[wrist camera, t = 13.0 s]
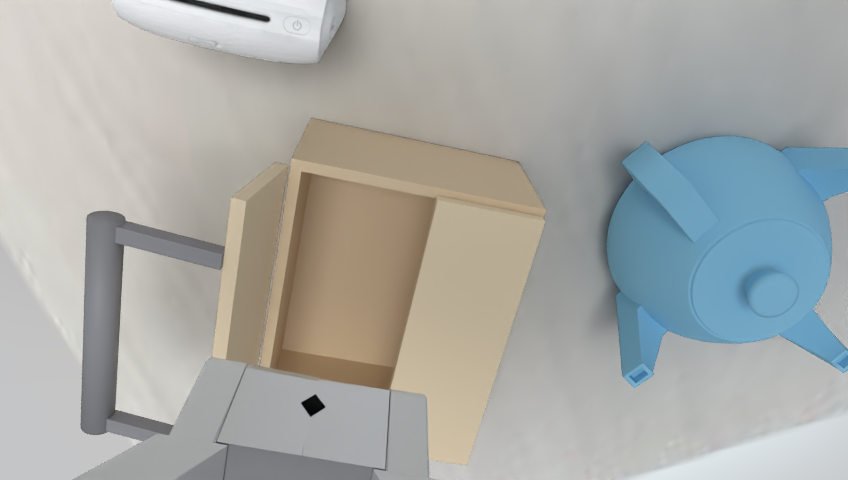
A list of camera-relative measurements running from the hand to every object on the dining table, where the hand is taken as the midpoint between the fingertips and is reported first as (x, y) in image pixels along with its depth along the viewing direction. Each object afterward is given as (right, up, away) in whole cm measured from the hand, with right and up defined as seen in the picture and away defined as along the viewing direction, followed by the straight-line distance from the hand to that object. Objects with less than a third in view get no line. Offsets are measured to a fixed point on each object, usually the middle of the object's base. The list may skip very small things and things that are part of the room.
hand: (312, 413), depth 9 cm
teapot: (+21, +3, +38) cm, 44 cm away
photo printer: (-8, +17, +31) cm, 36 cm away
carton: (-1, +1, +38) cm, 38 cm away
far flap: (-8, -3, +26) cm, 27 cm away
